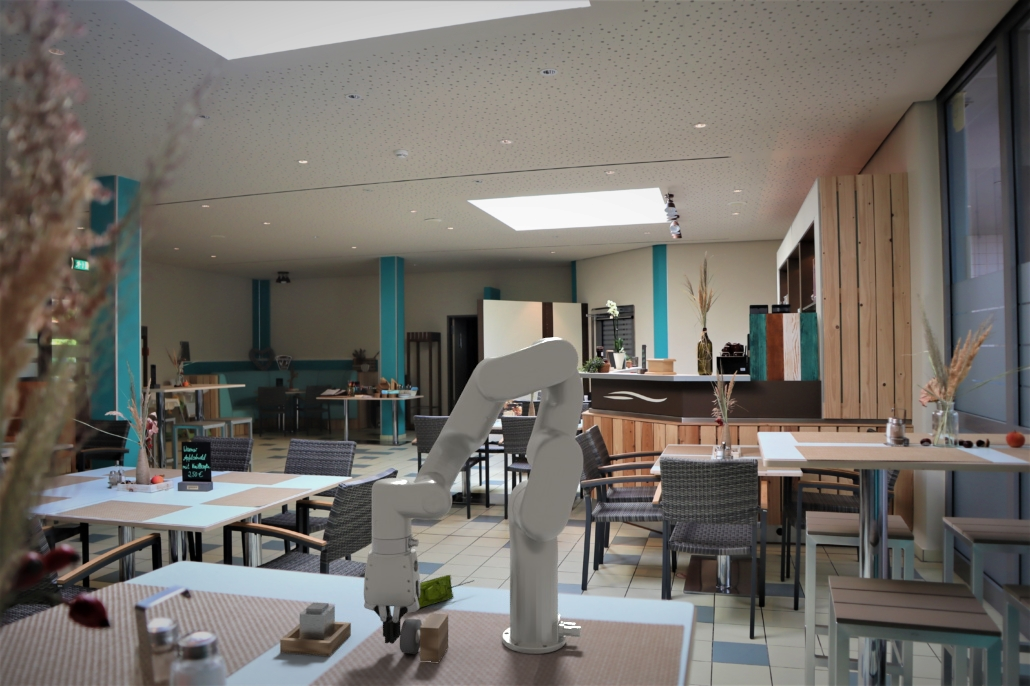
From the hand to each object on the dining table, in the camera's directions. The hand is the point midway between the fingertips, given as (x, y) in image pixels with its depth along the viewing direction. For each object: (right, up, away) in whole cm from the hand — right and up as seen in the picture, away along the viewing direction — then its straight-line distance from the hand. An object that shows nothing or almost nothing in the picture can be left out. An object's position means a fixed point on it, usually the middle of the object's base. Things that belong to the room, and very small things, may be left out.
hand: (391, 640), depth 133 cm
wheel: (+4, -2, -1) cm, 4 cm away
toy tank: (+8, -3, +27) cm, 28 cm away
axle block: (+8, -2, -1) cm, 9 cm away
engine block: (-15, -2, +4) cm, 16 cm away
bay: (-15, -2, +4) cm, 16 cm away
